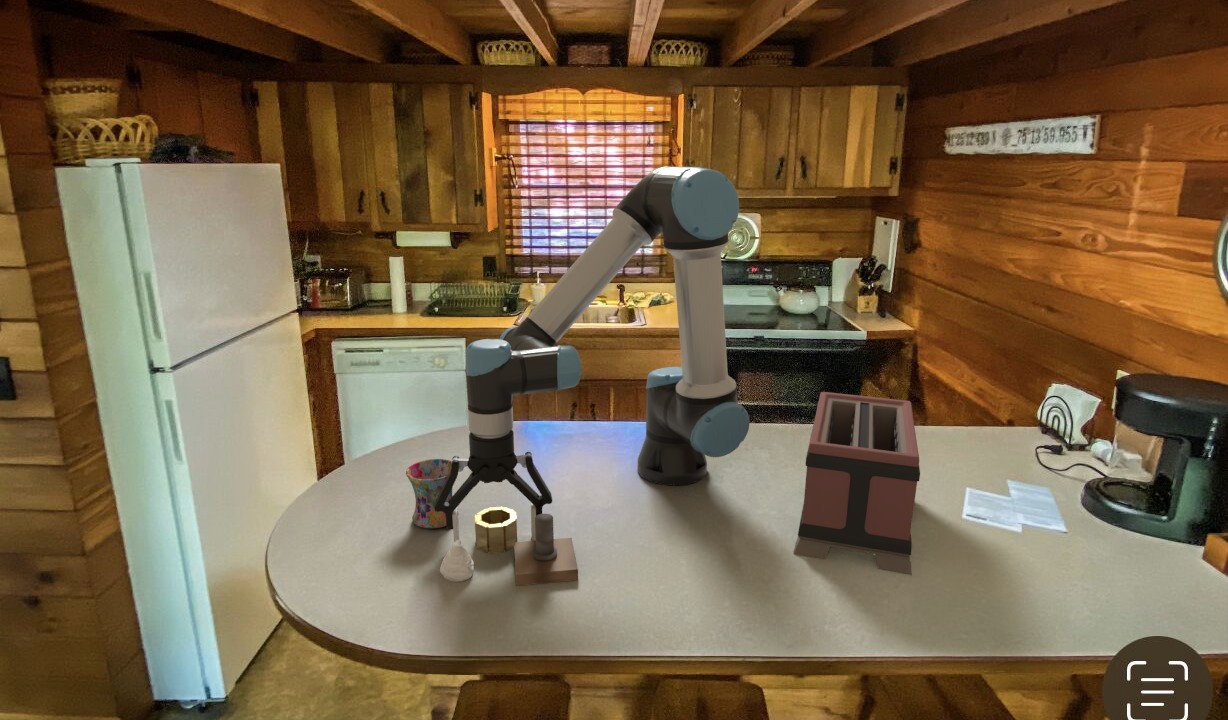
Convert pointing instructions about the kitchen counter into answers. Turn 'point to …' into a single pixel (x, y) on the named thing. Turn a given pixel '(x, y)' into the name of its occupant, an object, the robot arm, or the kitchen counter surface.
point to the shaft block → (545, 556)
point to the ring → (495, 529)
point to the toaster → (860, 480)
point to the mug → (429, 490)
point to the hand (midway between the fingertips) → (495, 541)
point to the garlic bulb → (457, 564)
